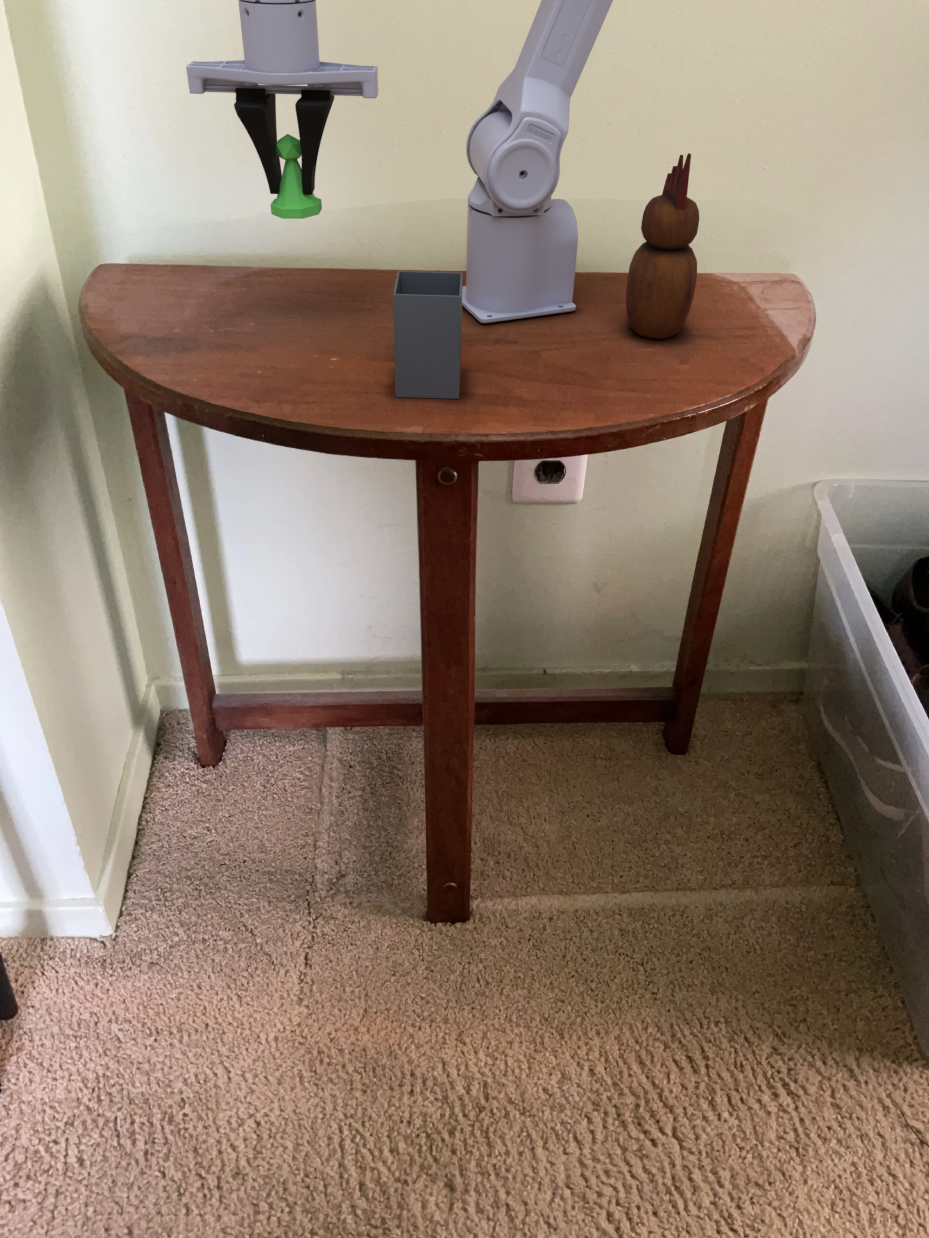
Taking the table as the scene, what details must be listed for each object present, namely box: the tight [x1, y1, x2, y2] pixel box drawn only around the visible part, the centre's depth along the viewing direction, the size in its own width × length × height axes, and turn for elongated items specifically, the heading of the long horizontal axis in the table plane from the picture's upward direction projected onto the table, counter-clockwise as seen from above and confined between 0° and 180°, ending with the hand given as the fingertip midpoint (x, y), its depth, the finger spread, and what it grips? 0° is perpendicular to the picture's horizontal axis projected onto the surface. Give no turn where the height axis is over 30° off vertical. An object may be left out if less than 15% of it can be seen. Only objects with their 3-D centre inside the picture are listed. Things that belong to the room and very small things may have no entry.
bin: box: [392, 270, 464, 400], centre depth 75 cm, size 5×5×8 cm
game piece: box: [269, 133, 323, 220], centre depth 81 cm, size 4×4×6 cm
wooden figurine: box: [625, 153, 700, 340], centre depth 82 cm, size 7×6×15 cm
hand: (293, 191), depth 82 cm, fingers closed on game piece, 2 cm apart
